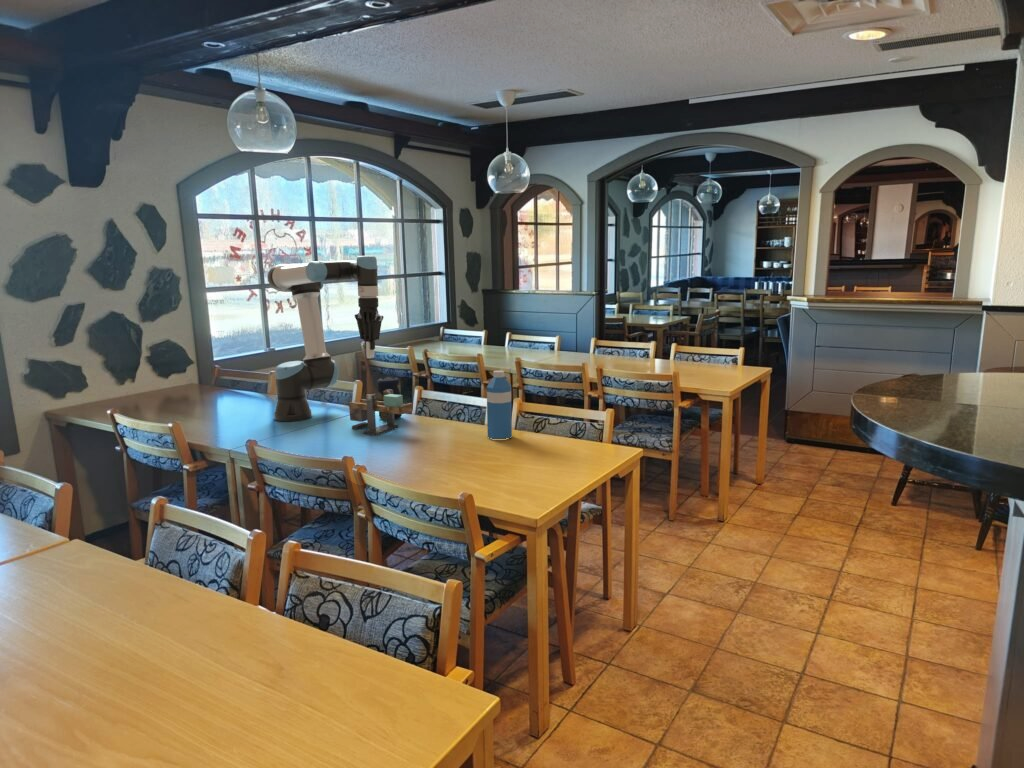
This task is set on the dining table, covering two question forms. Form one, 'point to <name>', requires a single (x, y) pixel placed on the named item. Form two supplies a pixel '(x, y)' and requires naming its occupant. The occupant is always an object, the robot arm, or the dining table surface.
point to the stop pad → (360, 425)
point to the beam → (360, 409)
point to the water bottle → (499, 407)
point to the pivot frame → (372, 422)
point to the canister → (390, 384)
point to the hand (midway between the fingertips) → (370, 357)
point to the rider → (393, 400)
